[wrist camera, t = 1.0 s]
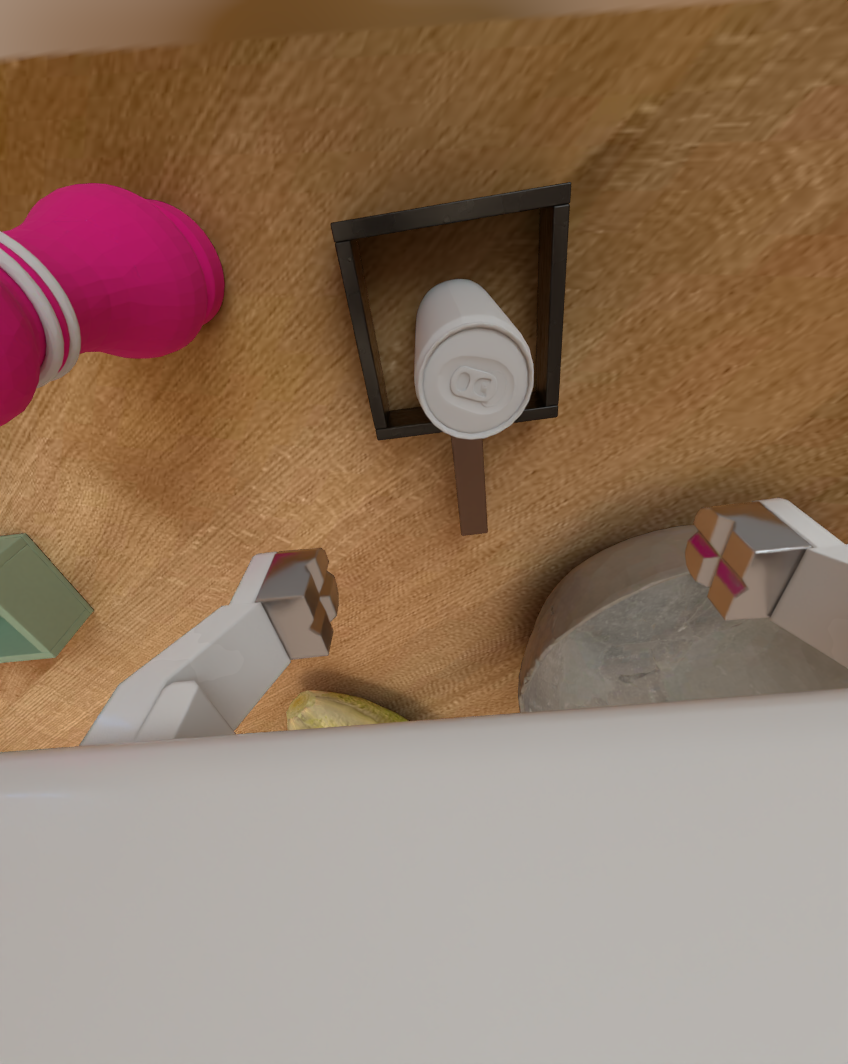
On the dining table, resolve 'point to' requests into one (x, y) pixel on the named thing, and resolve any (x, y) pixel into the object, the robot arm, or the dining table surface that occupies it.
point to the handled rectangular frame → (548, 322)
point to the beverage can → (469, 362)
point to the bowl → (655, 637)
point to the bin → (35, 603)
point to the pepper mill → (99, 285)
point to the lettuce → (335, 711)
